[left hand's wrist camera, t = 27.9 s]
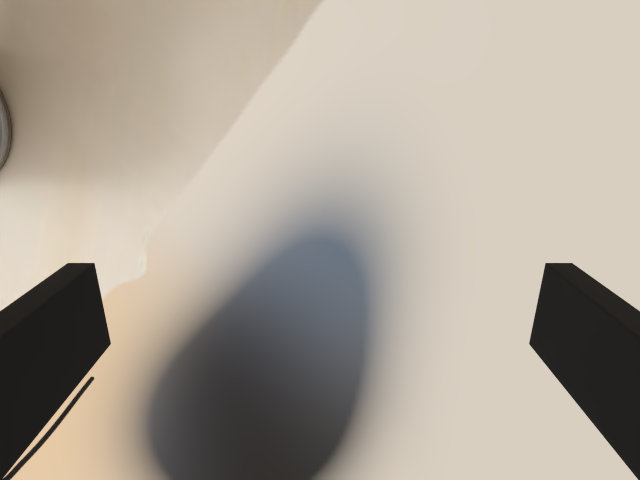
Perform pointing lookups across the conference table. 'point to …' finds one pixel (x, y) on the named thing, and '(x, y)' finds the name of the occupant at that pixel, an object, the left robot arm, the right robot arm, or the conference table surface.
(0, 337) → the left robot arm
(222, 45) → the conference table surface
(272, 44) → the conference table surface
